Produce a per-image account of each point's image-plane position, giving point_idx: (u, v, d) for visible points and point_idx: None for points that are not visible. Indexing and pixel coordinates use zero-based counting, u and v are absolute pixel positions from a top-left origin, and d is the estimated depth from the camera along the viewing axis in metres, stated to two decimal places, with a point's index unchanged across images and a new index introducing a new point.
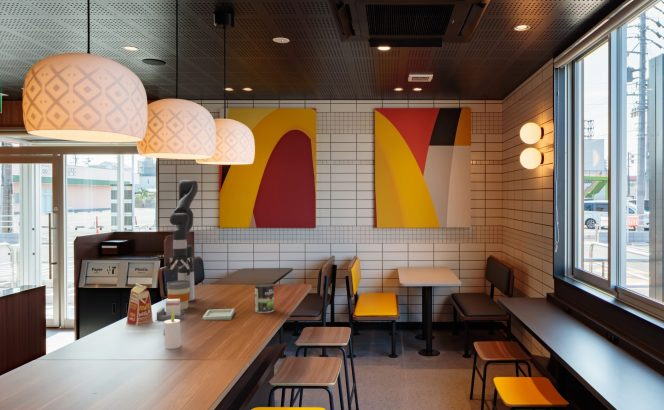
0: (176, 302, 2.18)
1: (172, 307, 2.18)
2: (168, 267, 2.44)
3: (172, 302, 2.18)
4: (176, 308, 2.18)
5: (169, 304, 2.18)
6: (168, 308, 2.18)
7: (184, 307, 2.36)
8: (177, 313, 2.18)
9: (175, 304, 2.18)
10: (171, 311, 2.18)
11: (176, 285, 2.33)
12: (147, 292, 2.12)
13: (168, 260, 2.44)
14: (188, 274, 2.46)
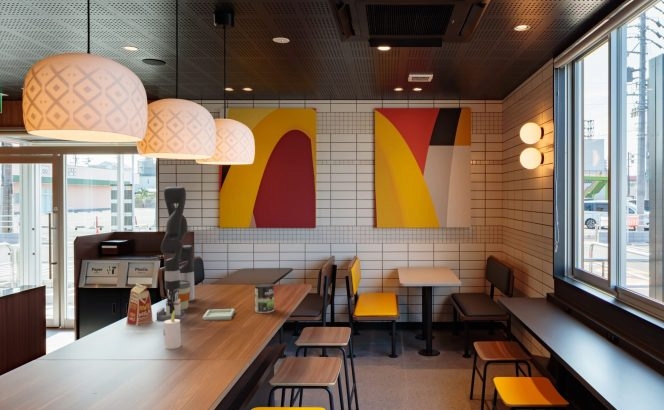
0: (176, 302, 2.18)
1: None
2: (173, 304, 2.16)
3: None
4: (176, 308, 2.18)
5: None
6: (168, 308, 2.18)
7: (184, 307, 2.36)
8: (177, 313, 2.18)
9: (175, 304, 2.18)
10: None
11: None
12: (147, 292, 2.12)
13: (172, 297, 2.14)
14: None
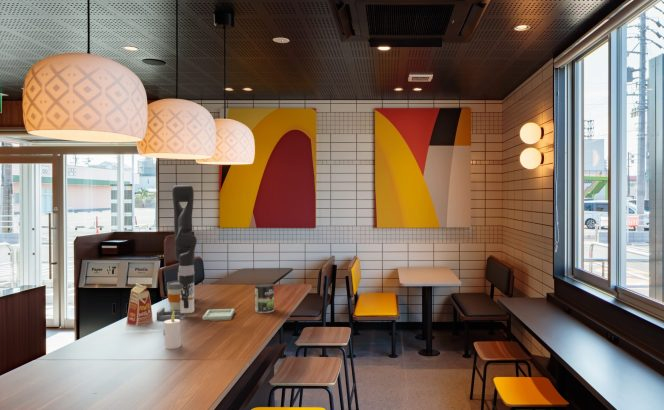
0: (190, 297, 2.19)
1: None
2: (187, 298, 2.16)
3: None
4: (190, 303, 2.19)
5: None
6: (182, 303, 2.18)
7: None
8: (191, 308, 2.19)
9: (189, 299, 2.19)
10: None
11: (176, 285, 2.33)
12: (147, 292, 2.12)
13: (186, 292, 2.15)
14: None
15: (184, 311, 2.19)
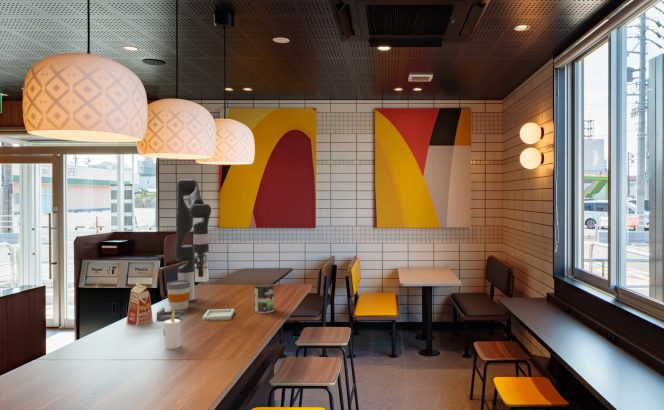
0: (205, 265, 2.19)
1: None
2: (202, 267, 2.16)
3: None
4: (205, 271, 2.19)
5: None
6: (197, 271, 2.19)
7: (184, 307, 2.36)
8: (206, 276, 2.19)
9: (204, 267, 2.19)
10: None
11: (176, 285, 2.33)
12: (147, 292, 2.12)
13: (201, 260, 2.15)
14: None
15: (199, 280, 2.19)
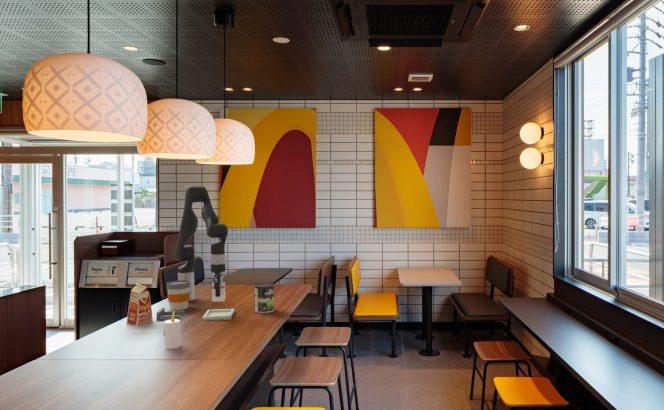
0: (222, 285, 2.20)
1: None
2: (219, 287, 2.18)
3: None
4: (222, 291, 2.20)
5: None
6: (214, 291, 2.20)
7: (184, 307, 2.36)
8: (223, 296, 2.20)
9: (221, 287, 2.20)
10: None
11: (176, 285, 2.33)
12: (147, 292, 2.12)
13: (218, 280, 2.16)
14: None
15: (216, 299, 2.20)
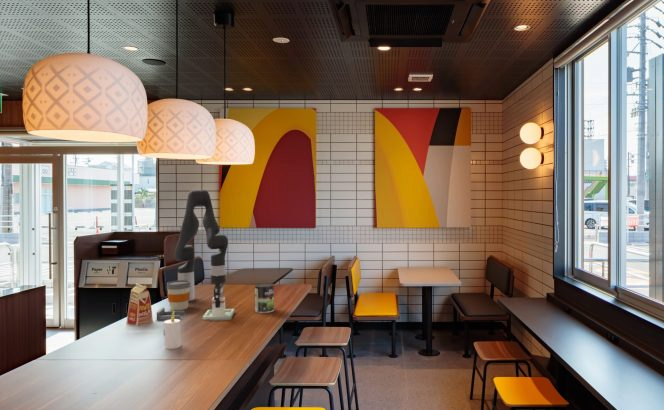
0: (222, 300, 2.20)
1: None
2: (219, 298, 2.17)
3: None
4: (222, 306, 2.20)
5: None
6: (214, 306, 2.20)
7: (184, 307, 2.36)
8: (223, 311, 2.20)
9: (221, 302, 2.20)
10: (217, 309, 2.20)
11: (176, 285, 2.33)
12: (147, 292, 2.12)
13: (218, 290, 2.16)
14: None
15: (216, 314, 2.20)
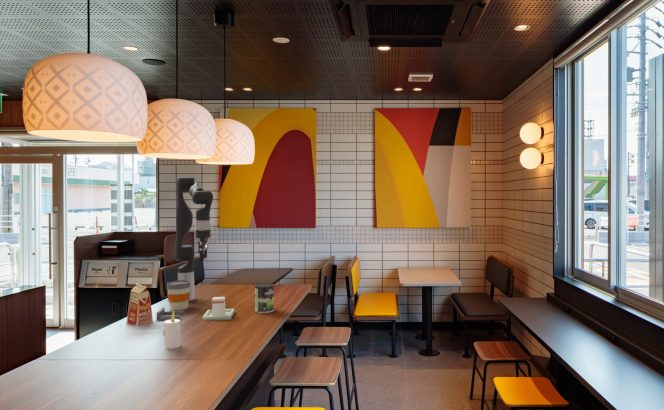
0: (222, 300, 2.20)
1: (218, 305, 2.20)
2: (203, 251, 2.20)
3: (218, 300, 2.20)
4: (222, 306, 2.20)
5: (215, 302, 2.20)
6: (214, 306, 2.20)
7: (184, 307, 2.36)
8: (223, 311, 2.20)
9: (221, 302, 2.20)
10: (217, 309, 2.20)
11: (176, 285, 2.33)
12: (147, 292, 2.12)
13: (203, 243, 2.20)
14: None
15: (216, 314, 2.20)
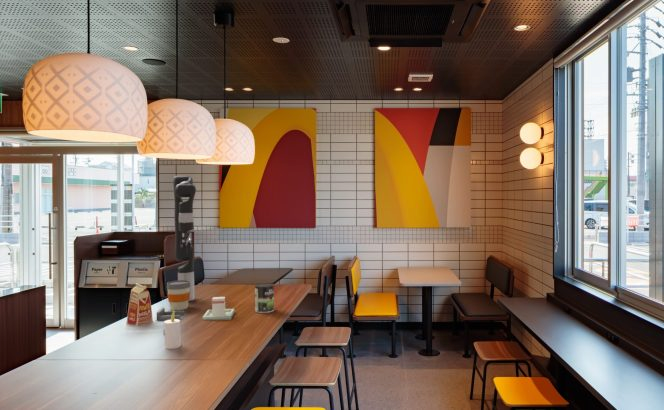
0: (222, 300, 2.20)
1: (218, 305, 2.20)
2: (186, 243, 2.24)
3: (218, 300, 2.20)
4: (222, 306, 2.20)
5: (215, 302, 2.20)
6: (214, 306, 2.20)
7: (184, 307, 2.36)
8: (223, 311, 2.20)
9: (221, 302, 2.20)
10: (217, 309, 2.20)
11: (176, 285, 2.33)
12: (147, 292, 2.12)
13: (185, 235, 2.24)
14: None
15: (216, 314, 2.20)
